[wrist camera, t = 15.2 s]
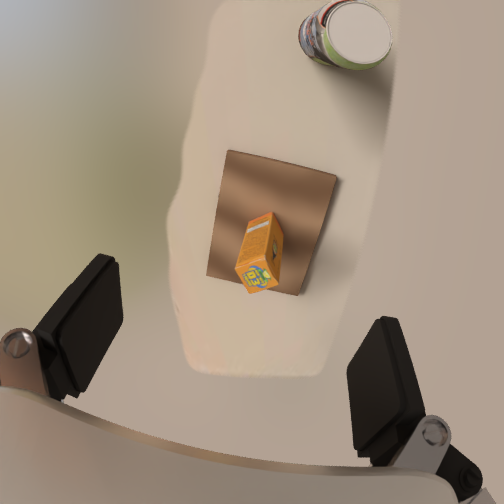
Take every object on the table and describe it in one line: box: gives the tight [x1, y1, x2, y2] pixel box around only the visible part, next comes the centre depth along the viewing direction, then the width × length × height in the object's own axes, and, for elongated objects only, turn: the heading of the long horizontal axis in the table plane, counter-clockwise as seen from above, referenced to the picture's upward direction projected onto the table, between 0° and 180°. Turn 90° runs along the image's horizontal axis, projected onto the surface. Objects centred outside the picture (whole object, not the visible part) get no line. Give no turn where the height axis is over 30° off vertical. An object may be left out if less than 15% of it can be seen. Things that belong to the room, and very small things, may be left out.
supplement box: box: [235, 212, 284, 294], centre depth 32 cm, size 3×3×10 cm
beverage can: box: [298, 0, 392, 70], centre depth 21 cm, size 6×7×12 cm
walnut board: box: [206, 150, 337, 296], centre depth 36 cm, size 16×12×1 cm
